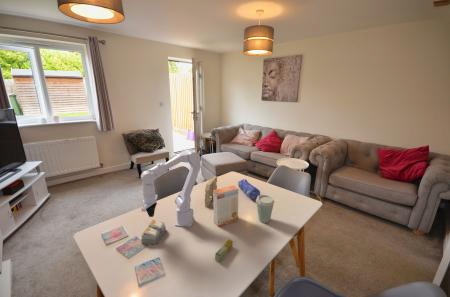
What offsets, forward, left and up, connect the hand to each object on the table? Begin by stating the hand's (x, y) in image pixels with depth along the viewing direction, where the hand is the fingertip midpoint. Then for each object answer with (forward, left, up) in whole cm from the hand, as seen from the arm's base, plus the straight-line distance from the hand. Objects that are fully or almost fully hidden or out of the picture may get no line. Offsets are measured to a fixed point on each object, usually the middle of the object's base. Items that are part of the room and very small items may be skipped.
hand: (151, 216), depth 109 cm
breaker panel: (-2, +3, -10) cm, 10 cm away
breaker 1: (-2, 0, -5) cm, 5 cm away
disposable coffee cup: (-62, -17, -10) cm, 65 cm away
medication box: (-41, +11, -10) cm, 44 cm away
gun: (-26, -40, -10) cm, 49 cm away
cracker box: (-39, -14, -10) cm, 43 cm away
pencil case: (-53, -50, -10) cm, 74 cm away
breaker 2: (-2, +6, -5) cm, 8 cm away
